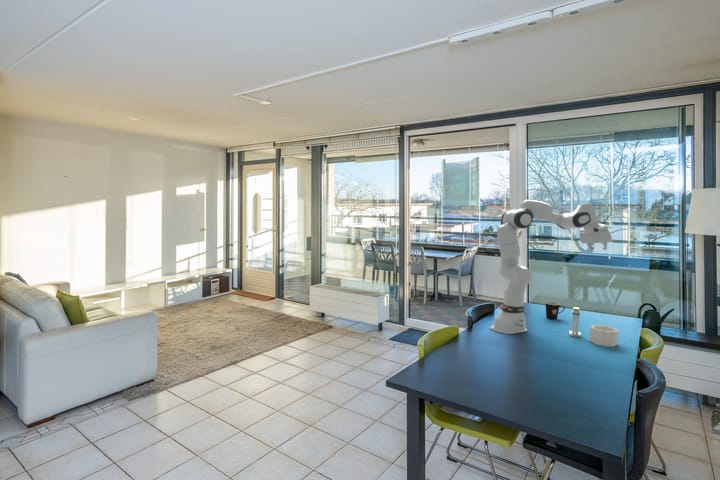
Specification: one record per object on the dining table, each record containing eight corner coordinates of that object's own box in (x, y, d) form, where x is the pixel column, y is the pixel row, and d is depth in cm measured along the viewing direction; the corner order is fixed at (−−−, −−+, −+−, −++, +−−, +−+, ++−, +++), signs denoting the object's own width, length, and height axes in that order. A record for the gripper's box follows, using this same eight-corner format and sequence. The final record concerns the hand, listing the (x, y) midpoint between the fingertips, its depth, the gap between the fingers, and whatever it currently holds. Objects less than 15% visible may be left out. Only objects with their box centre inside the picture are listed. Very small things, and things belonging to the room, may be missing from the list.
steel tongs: (569, 335, 226) (570, 308, 225) (569, 333, 231) (571, 306, 229) (580, 337, 223) (582, 309, 222) (580, 334, 228) (581, 307, 227)
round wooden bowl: (610, 348, 206) (611, 333, 206) (586, 341, 216) (587, 327, 215) (620, 343, 214) (621, 329, 213) (596, 337, 223) (597, 323, 223)
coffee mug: (544, 318, 261) (544, 304, 260) (544, 315, 268) (545, 301, 267) (563, 321, 255) (564, 306, 254) (564, 318, 263) (564, 303, 262)
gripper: (574, 230, 252) (581, 251, 252) (601, 228, 232) (608, 251, 232) (582, 227, 253) (588, 248, 254) (610, 225, 233) (616, 247, 234)
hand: (598, 249), depth 243 cm, fingers open, 8 cm apart
